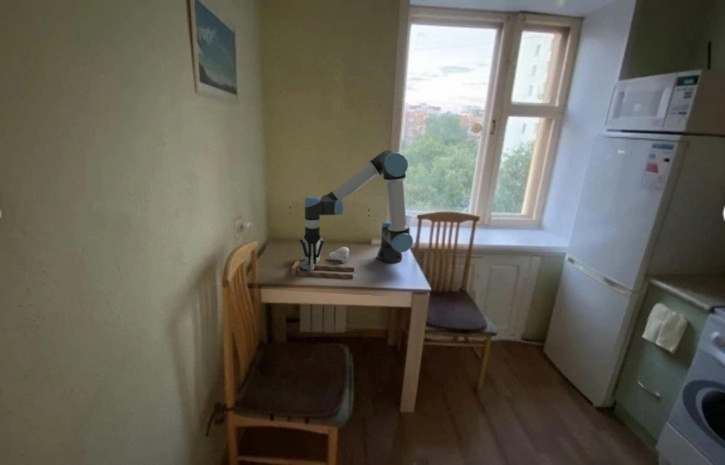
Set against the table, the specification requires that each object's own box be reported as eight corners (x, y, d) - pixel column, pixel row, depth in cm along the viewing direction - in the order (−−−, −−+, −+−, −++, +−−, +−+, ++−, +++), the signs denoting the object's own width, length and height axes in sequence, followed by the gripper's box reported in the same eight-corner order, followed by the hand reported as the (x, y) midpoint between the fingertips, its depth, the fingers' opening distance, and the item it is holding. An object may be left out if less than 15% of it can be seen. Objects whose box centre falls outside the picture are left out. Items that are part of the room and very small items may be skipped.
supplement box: (316, 263, 193) (316, 242, 189) (304, 262, 194) (304, 241, 191) (320, 259, 200) (320, 239, 196) (308, 257, 201) (308, 237, 197)
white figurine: (347, 249, 193) (327, 248, 195) (348, 263, 195) (328, 262, 198) (349, 245, 199) (330, 245, 201) (350, 259, 201) (331, 258, 204)
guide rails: (354, 270, 186) (354, 267, 185) (352, 278, 176) (352, 275, 175) (299, 267, 187) (299, 264, 186) (295, 275, 177) (295, 271, 176)
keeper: (312, 270, 184) (312, 261, 183) (309, 274, 179) (309, 265, 177) (301, 269, 185) (301, 260, 184) (298, 273, 179) (298, 264, 178)
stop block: (299, 267, 187) (299, 260, 186) (295, 275, 177) (295, 268, 176) (296, 267, 187) (296, 260, 186) (291, 275, 177) (291, 267, 176)
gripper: (325, 225, 177) (325, 267, 184) (301, 224, 178) (301, 265, 185) (323, 229, 170) (323, 272, 177) (298, 227, 171) (298, 271, 178)
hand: (312, 269), depth 181 cm, fingers closed
